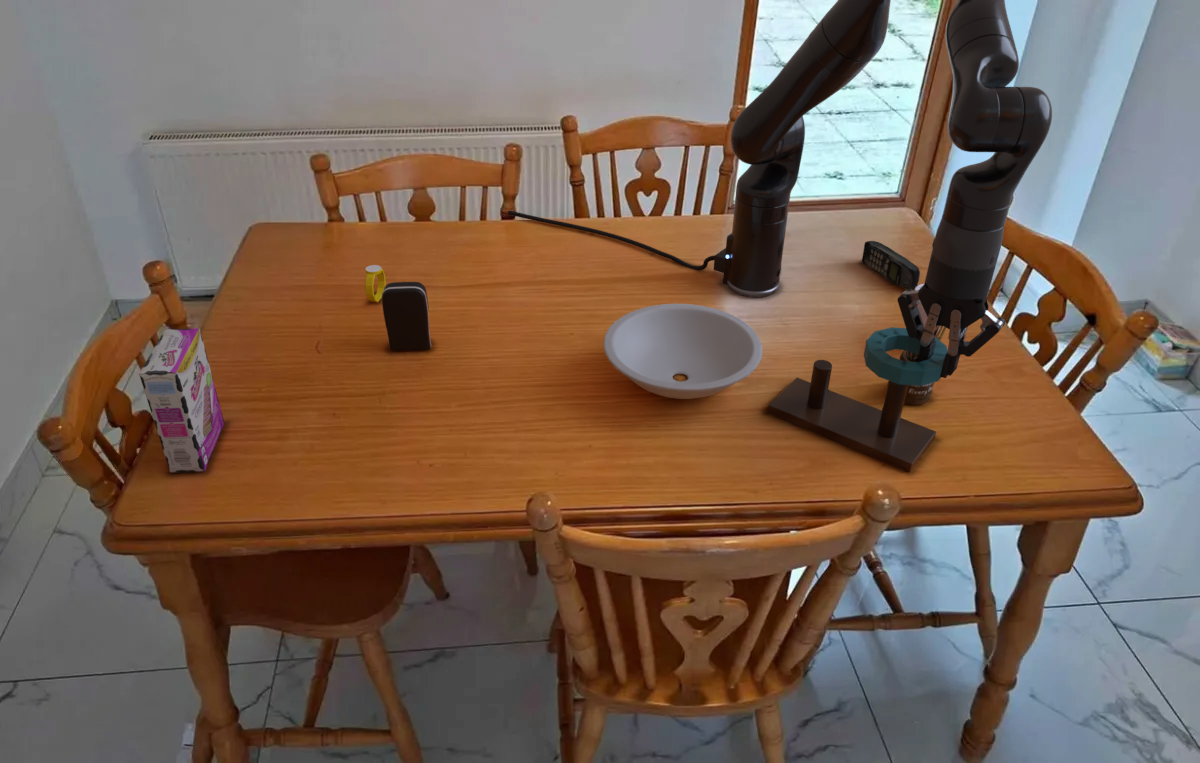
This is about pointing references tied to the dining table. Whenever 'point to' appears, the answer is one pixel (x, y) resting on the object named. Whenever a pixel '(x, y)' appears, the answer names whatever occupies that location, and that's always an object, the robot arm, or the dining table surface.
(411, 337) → the battery charger
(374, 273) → the watch
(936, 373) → the teal faceted ring
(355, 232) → the dining table surface
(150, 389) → the candy bar box
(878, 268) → the mobile phone
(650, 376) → the vessel sink basin
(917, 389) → the utensil holder
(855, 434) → the rack
